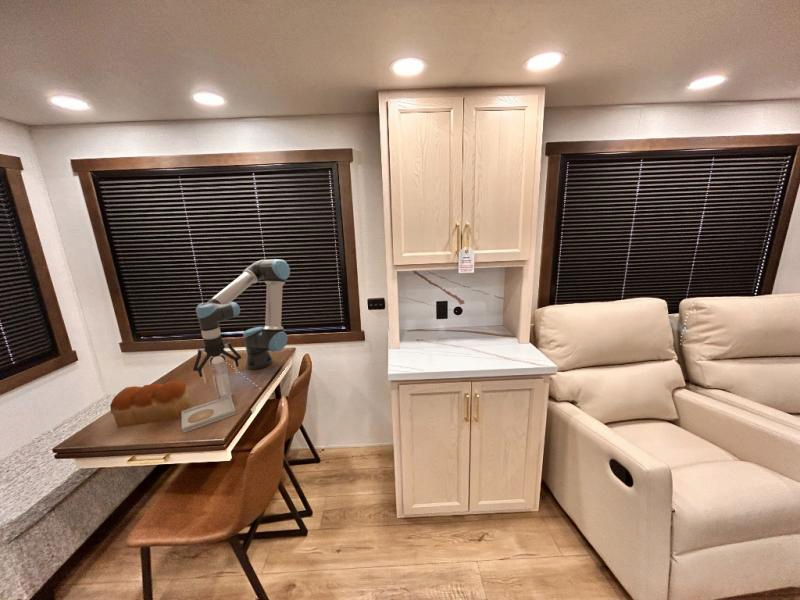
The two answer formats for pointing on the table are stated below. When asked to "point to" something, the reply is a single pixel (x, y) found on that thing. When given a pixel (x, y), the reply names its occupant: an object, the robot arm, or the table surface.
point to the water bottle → (221, 376)
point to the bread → (150, 403)
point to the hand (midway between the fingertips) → (221, 377)
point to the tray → (207, 413)
